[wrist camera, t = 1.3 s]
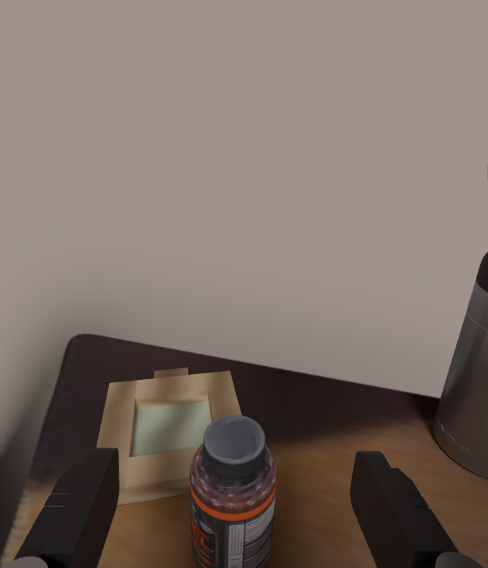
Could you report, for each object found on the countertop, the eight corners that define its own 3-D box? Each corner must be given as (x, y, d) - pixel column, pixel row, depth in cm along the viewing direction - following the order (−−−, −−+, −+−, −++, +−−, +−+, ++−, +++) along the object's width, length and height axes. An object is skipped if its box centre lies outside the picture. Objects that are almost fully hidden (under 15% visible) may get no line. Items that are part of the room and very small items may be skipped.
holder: (227, 376, 47) (227, 363, 46) (254, 482, 33) (255, 466, 32) (113, 388, 44) (111, 375, 43) (90, 510, 30) (86, 493, 29)
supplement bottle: (179, 533, 28) (172, 422, 24) (243, 496, 31) (247, 392, 27) (215, 613, 24) (214, 493, 19) (286, 561, 27) (300, 447, 22)
